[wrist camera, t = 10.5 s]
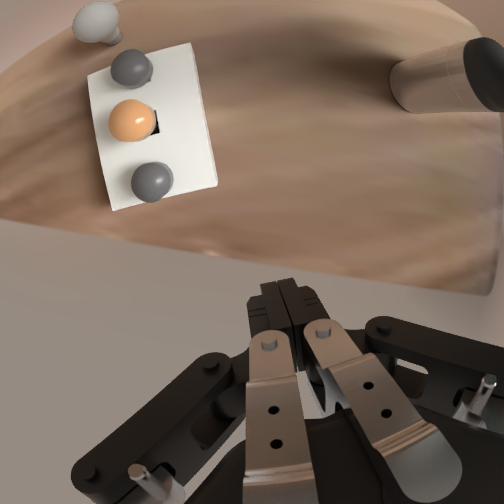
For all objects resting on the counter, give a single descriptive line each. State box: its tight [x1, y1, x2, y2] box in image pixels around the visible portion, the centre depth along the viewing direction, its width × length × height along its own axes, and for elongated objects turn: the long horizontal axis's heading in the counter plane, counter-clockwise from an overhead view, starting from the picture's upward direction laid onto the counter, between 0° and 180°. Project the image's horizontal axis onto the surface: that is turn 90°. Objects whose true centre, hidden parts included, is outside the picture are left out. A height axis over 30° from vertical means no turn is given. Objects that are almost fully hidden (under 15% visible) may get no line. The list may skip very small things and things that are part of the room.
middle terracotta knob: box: [108, 99, 157, 142], centre depth 28 cm, size 4×4×8 cm
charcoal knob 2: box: [131, 162, 174, 202], centre depth 34 cm, size 4×4×8 cm
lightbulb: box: [72, 1, 122, 45], centre depth 25 cm, size 6×6×11 cm
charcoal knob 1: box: [110, 49, 153, 89], centre depth 29 cm, size 4×4×8 cm
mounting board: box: [87, 43, 218, 211], centre depth 33 cm, size 14×19×5 cm
